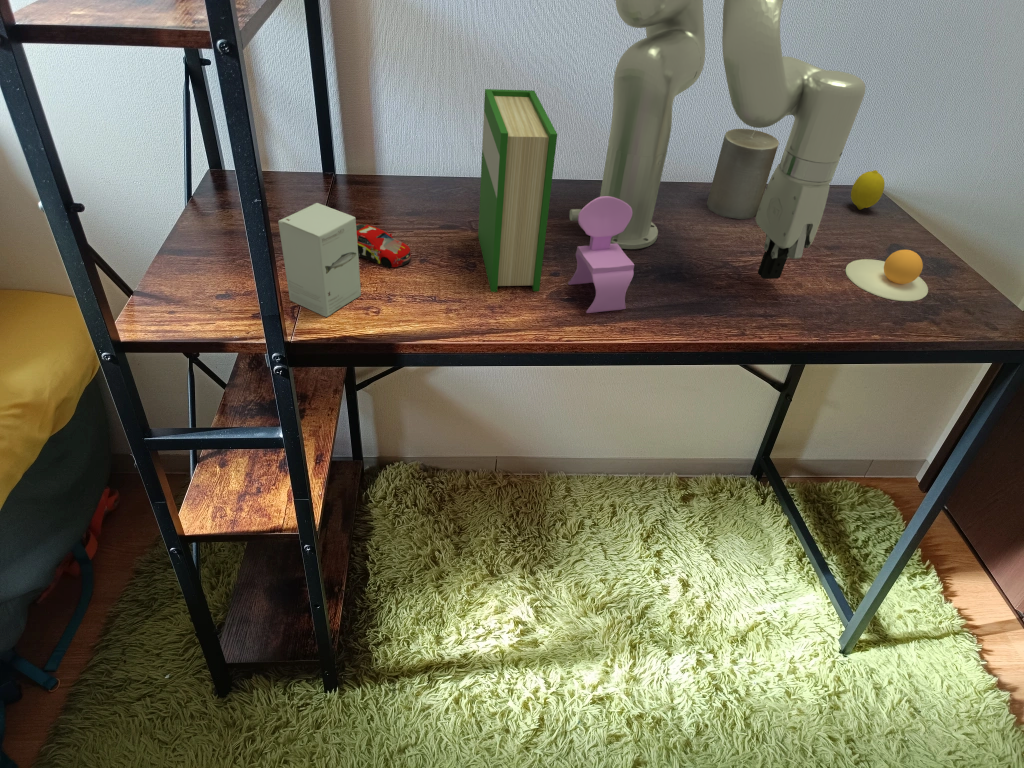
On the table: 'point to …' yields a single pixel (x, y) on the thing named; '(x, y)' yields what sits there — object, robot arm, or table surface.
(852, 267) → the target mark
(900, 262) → the ball
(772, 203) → the robot arm
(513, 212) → the hardback book
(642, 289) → the table surface
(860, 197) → the lemon
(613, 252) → the toy chair
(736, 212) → the pillar candle
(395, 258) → the race car
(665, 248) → the table surface
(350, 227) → the supplement box
